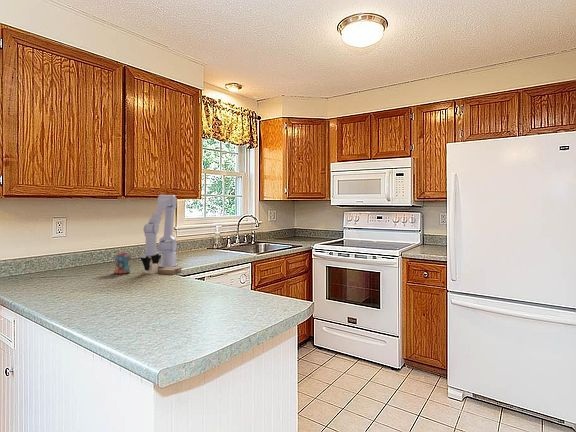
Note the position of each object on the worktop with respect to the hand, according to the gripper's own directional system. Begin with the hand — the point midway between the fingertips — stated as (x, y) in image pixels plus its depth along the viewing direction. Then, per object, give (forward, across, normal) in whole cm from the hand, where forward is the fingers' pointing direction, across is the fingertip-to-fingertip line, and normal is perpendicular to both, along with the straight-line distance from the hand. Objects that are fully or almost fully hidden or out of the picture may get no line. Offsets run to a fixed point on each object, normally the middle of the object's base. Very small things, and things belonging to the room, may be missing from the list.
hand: (151, 269), depth 204 cm
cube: (+2, 0, 0) cm, 2 cm away
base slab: (+2, -3, +10) cm, 11 cm away
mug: (+2, +5, -13) cm, 14 cm away
